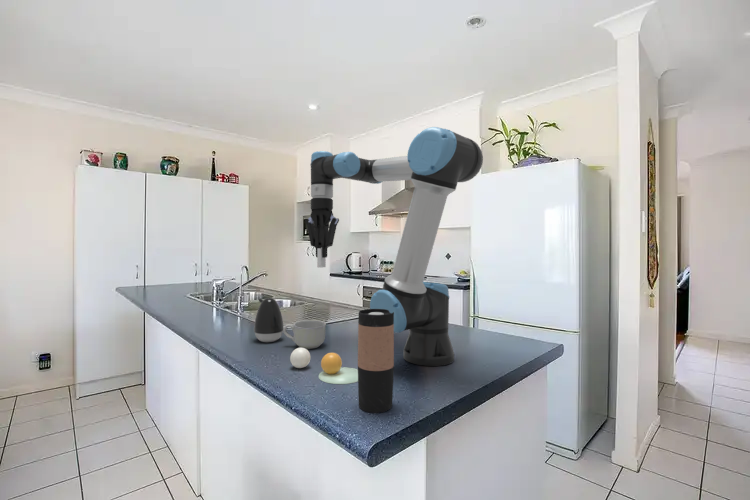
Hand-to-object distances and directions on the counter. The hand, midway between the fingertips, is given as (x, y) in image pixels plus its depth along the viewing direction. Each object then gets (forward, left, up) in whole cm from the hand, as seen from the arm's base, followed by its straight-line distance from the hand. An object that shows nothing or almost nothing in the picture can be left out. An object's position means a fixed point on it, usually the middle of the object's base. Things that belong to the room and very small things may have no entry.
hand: (321, 267), depth 128 cm
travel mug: (-39, +35, -27) cm, 59 cm away
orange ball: (-20, +23, -24) cm, 38 cm away
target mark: (-23, +23, -26) cm, 42 cm away
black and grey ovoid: (+19, +5, -27) cm, 33 cm away
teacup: (+3, +5, -27) cm, 27 cm away
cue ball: (-10, +23, -24) cm, 34 cm away
